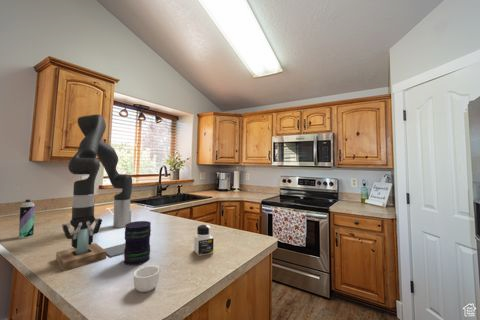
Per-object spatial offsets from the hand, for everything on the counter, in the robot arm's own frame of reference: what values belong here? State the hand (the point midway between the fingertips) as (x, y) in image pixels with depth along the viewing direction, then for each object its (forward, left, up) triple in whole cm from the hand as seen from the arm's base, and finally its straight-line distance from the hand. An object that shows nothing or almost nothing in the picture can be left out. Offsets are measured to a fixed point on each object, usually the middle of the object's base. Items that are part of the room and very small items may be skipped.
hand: (82, 245), depth 88 cm
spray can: (+12, -53, -6) cm, 55 cm away
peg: (0, 0, -5) cm, 5 cm away
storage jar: (-15, +18, -6) cm, 24 cm away
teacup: (-9, +40, -6) cm, 41 cm away
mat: (-14, +2, -5) cm, 15 cm away
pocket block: (0, 0, -5) cm, 5 cm away
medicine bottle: (-39, +32, -6) cm, 51 cm away
